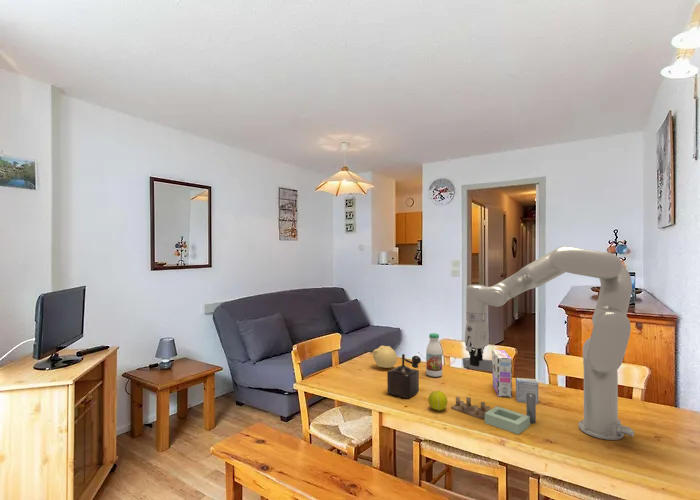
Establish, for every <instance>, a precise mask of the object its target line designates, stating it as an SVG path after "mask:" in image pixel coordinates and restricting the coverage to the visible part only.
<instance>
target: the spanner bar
mask: <svg viewBox="0 0 700 500" xmlns="http://www.w3.org/2000/svg"><path fill="white" fill-rule="evenodd" d="M462 365H463V367H462V368H463V369H466V370H467V369H468V370H469V369H470V370H476V371H477V370H478V371H485V372H486V371H487V372H493V363H492V359H478V366H477V367H476V366H472V365H470V357H462Z"/></svg>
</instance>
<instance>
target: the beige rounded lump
mask: <svg viewBox="0 0 700 500" xmlns="http://www.w3.org/2000/svg"><path fill="white" fill-rule="evenodd" d="M372 359H373V361H374V362H375V365H377V367H379V368H385V369H386V368H387V369H389V368H393V367H394V366H395V365H396V364H397V362H398V361H397V360H398V357H397V353H396V351H395V349H393V348H392V347H391V346H389V345H387V346H386V345H380V346H379V347H378V348H376V349H374V350H373V351H372Z"/></svg>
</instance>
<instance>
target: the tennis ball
mask: <svg viewBox="0 0 700 500" xmlns="http://www.w3.org/2000/svg"><path fill="white" fill-rule="evenodd" d="M428 395H429V396H428V397H427V398H428V399H427V400H428V404H429V406H430V407H431V409H433V410H435V411H443V410H444V409H445V408H446V407H447V405H448V397H447V395H446V394H445V393H444V392H443V391H442V390H441V391H440V390H434V391H432V392H430V394H428Z"/></svg>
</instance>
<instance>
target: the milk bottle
mask: <svg viewBox="0 0 700 500" xmlns="http://www.w3.org/2000/svg"><path fill="white" fill-rule="evenodd" d="M428 337H429V341H428V344H427V347H426V351H425V353H426V354H425V364H426V365H425V368H426V369H425V371H426V372H425V373H426V375H428V376H430V377H435V378H437V377H441V376H442V375H443V350H442V346H441V345H440V341H439V340H440V338H439V337H440V334H439V333H436V332H435V333H434V332H432V333H429V336H428Z"/></svg>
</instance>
